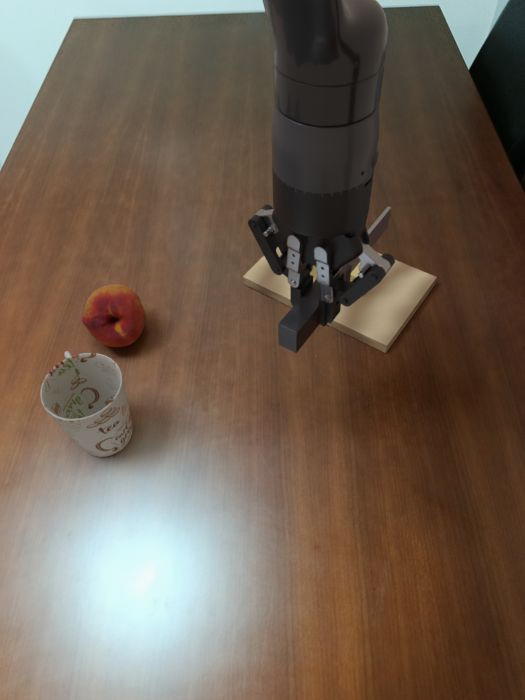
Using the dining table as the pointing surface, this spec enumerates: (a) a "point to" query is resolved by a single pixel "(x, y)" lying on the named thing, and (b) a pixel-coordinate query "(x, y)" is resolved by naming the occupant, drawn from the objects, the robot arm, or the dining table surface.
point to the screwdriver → (306, 309)
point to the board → (361, 301)
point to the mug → (89, 402)
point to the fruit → (114, 315)
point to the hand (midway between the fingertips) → (314, 313)
